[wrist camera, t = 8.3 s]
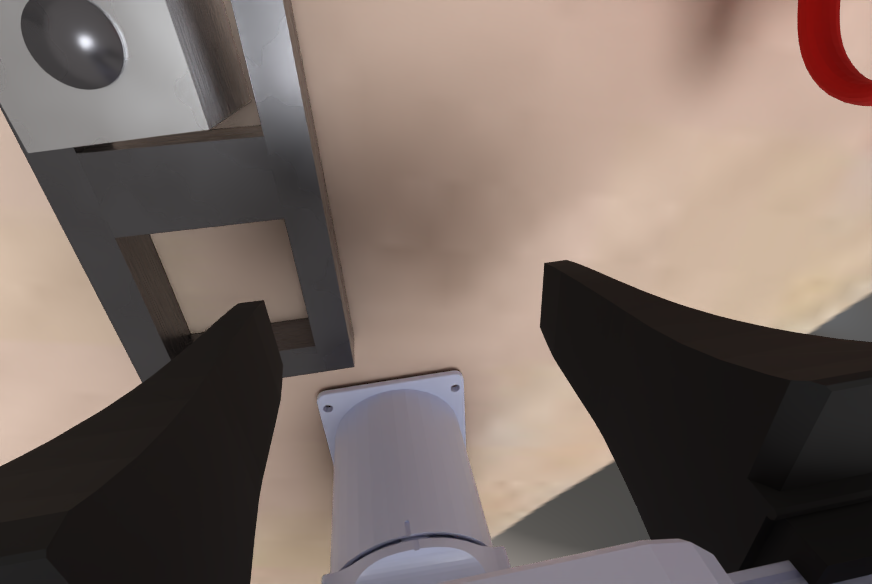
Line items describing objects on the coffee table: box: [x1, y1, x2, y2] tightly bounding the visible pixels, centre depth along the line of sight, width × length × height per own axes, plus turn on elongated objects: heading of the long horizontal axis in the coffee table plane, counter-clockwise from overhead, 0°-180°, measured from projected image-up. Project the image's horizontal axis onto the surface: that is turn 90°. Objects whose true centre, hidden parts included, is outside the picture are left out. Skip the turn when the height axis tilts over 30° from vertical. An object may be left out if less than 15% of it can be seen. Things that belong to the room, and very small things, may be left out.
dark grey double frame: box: [0, 0, 354, 383], centre depth 17 cm, size 18×9×2 cm, turn 3°
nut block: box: [0, 0, 252, 153], centre depth 13 cm, size 4×4×6 cm
